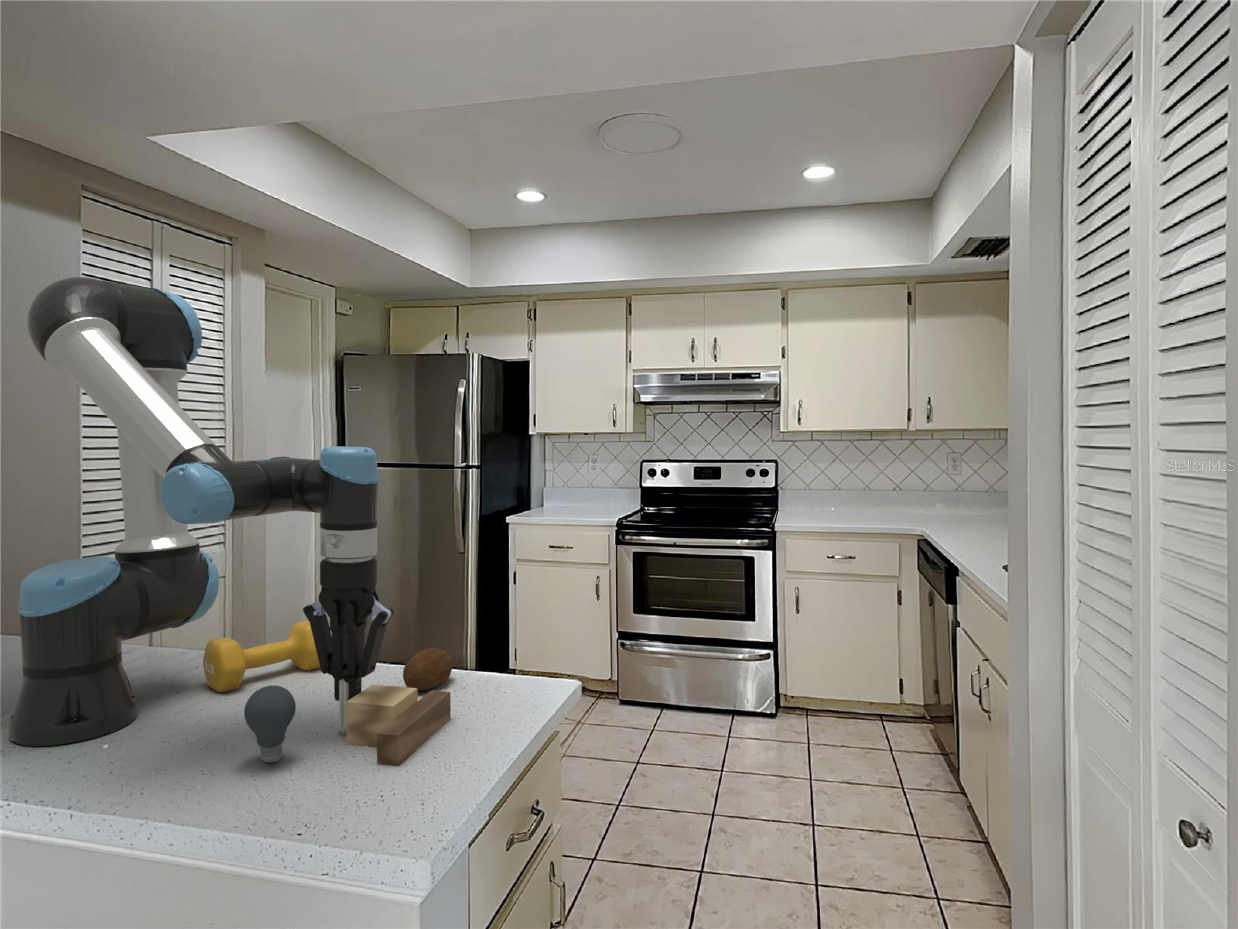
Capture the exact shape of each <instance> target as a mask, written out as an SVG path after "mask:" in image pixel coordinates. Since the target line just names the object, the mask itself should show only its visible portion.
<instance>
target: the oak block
mask: <svg viewBox="0 0 1238 929" xmlns="http://www.w3.org/2000/svg"><path fill="white" fill-rule="evenodd" d="M417 701H418V691H417V688H408V687H407V686H406V687H405V686H396V685H395V686H394V685H384V684H383V685H382V684H371V685H369V686H368V687H366V688H365V689H364V690H361V692H360V693H359V694H357V695H356V696H354V697H353V698H351V699H350V700H348V701H347V702H346V727H345V729H346V730H345V731H346V736H345V737H346V745H347V746H355V747H363V746H368V747H367V748H373V747H377V733H378V732H379V731H380V730H382V729H383V728H384V727H385V726H387V725H388V724H389V723H391V722H392V721H393V720H394V719H396V718H397V717H398V716H399V715H401V714H402V713H403V712H405V711H406V710H407V709H408V708H410V707H411V706H412V705H414V704H415V703H416V702H417Z"/></svg>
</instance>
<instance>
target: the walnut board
mask: <svg viewBox="0 0 1238 929" xmlns="http://www.w3.org/2000/svg"><path fill="white" fill-rule="evenodd" d="M451 706H452V703H451V691H445V690H443V691H442V690H432V689H431V691H429V692H428V693H426V694H425V695H423V697H421V698H420V699H419V700H417V702H416V703H415V704H414V705H412V706H411V707H410V708H408V709H407V710H406V711H405V712H403V713H402V714H401V715H399V716H398V717H397V718H396V719H394V720H393V721H392V722H391V723H389V724H388V725H387V726H385V727H384V728H383V729H382V730H380V731H379V732H378V733H377V748H376V763H377V765H385V766H386V765H387V766H394V767H395V766H396V767H399V766H401V764H402V763H404V762H405V761H406V760H407V759H408V758H409V757H410V756H411V755H412V754H413V753H414V752H416V751H417V750H418V749H419V748H420V747H421V746H422V745H423V744H424V743H425V742H427V741H428V740H429V739H430V738H431V737H432V736H433V735H434V734H435V733H436V732H437V731H439V730H440V729H441V728H442V727H443V726H444V725H445V724H446V723H447V722H448V721H450V720H451V719H452V717H451V716H452V714H451V712H452V711H451V710H452V709H451ZM441 726H442V727H441ZM433 733H434V734H433ZM430 736H431V737H430ZM429 737H430V738H429ZM419 746H420V747H419ZM418 747H419V748H418ZM416 749H417V750H416ZM408 756H409V757H408Z"/></svg>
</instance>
